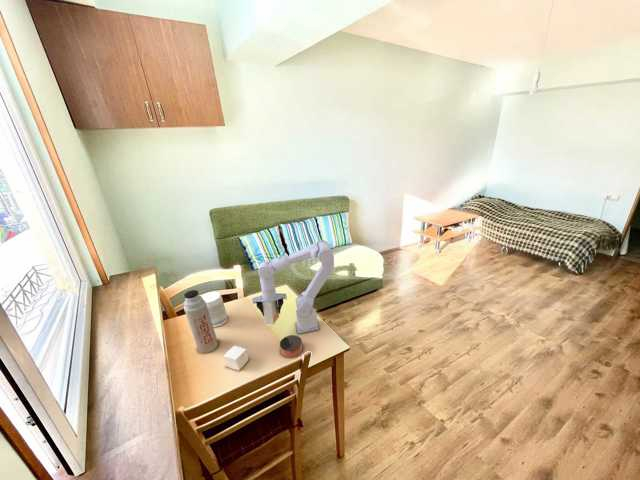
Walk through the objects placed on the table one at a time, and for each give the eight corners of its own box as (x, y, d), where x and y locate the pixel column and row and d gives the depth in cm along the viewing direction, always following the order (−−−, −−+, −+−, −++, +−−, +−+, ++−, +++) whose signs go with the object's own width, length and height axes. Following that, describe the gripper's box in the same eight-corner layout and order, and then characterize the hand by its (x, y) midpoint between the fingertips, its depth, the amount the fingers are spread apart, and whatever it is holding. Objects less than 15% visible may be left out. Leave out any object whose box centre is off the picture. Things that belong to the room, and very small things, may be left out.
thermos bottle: (218, 348, 121) (202, 295, 108) (198, 355, 117) (179, 301, 104) (217, 337, 127) (201, 285, 114) (197, 343, 124) (179, 290, 111)
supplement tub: (231, 316, 140) (225, 292, 133) (220, 328, 132) (213, 303, 125) (214, 314, 142) (207, 290, 135) (202, 326, 134) (194, 301, 127)
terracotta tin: (300, 340, 125) (300, 333, 123) (304, 354, 117) (303, 347, 115) (280, 344, 123) (279, 337, 121) (281, 359, 115) (280, 352, 113)
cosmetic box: (273, 325, 124) (270, 303, 119) (265, 323, 125) (261, 301, 120) (279, 316, 130) (277, 295, 124) (271, 315, 130) (268, 294, 125)
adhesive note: (238, 370, 110) (235, 359, 107) (226, 366, 112) (223, 355, 109) (248, 359, 115) (246, 348, 112) (236, 355, 117) (234, 345, 114)
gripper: (284, 281, 125) (287, 306, 131) (250, 285, 121) (255, 310, 127) (286, 289, 119) (288, 315, 125) (250, 294, 115) (254, 320, 121)
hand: (271, 313), depth 126 cm, fingers closed on cosmetic box, 6 cm apart
